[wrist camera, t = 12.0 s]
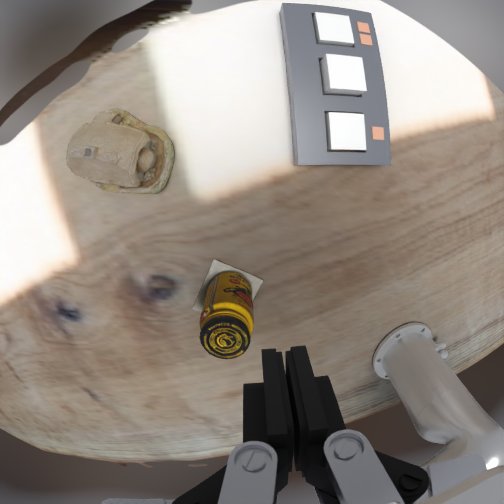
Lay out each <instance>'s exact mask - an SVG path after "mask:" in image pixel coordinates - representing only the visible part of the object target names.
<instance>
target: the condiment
mask: <svg viewBox="0 0 504 504" xmlns="http://www.w3.org/2000/svg"><path fill="white" fill-rule="evenodd" d="M263 281H264V280H262V279H259V278H257V277H255V276H252V275H250V274H248V273H245V272H243V271H241V270H238V269H236V268H234V267H231V266H229V265H227V264H224V263H222V262H219V261H217V260H215V259H214V261H213V263H212V265H211V267H210V270H209V272H208V274H207V276H206V279H205V281H204V283H203V285H202V288H201V290H200V292H199V295H198V297H197V299H196V302H195V304H194V306H193V309H192V310H195V311H198V312H201V317H200V328H201V332H200V341H201V344H202V346H203V347H204V349H205V350H206V351H207V352H208V353H209V354H211V355H213V356H215V357H218V358H222V359H232V358H236V357H238V356H240V355H241V354H243V353H244V352H245V351H246V350H247V348H248V346H249V344H250V338H251V337H250V336H251V333H252V331H253V322H254V321H253V299H254V297H255V295H256V293H257V291H258V290H259V288H260V286H261V284H262V282H263Z"/></svg>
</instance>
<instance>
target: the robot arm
mask: <svg viewBox="0 0 504 504" xmlns="http://www.w3.org/2000/svg"><path fill="white" fill-rule="evenodd" d="M444 348H446V342H445V341H444V342H440V343H438V344H436V343H435V342H434V341H433V336H432V332H431V331H430V329H429V328H428V327H427V326H426V325H424V324H423V323H419V322H413V323H408V324H405V325H403V326H401V327H399V328H397V329H395V330H394V331H393V332H391V333H390V334H389V335H388V336H387V337H385V339H384V340H383V341H382V342H381V343H380V345H379V346H378V348H377V349H376V352H375V354H374V357H373V368H374V370H375V372H376V373H377V375H378V376H380V377H381V378H384V379H390V381H391V383H392V384H393V386H394V388H395V390H396V392H397V394H398V395H399V397H400V399H401V401H402V403H403V404H404V406H405V408H406V410H407V412H408V414H409V416H410V418H411V420H412V421H413V424H414V425H415V428H416V430H417V431H418V433H419V434H420V435H421V437H423V438H424V439H426V440H428V441H431V442H436V443H442V444H446V445H445V447H444V448H443V449H442V450H441V451H439V452H438V453H437V454H436V455H434V456H433V457H432V458H430V459H429V460H428V461H426V462H424V463H423V464H421V465H420V466H416V465H413V464H410V463H407V462H404V461H402V460H399V459H396V458H393V457H391V456H388V455H385V454H383V453H380V452H378V451H375V450H373V448H372V446H371V445H370V443H369V441H368V440H367V438H366V437H365V436H364V435H363V434H361V433H360V432H358V431H354V430H346V427H345V424H344V421H343V418H342V415H341V412H340V409H339V406H338V403H337V400H336V397H335V394H334V391H333V388H332V385H331V382H330V379H329V377H328V376H320V377H314V374H313V370H312V367H311V363H310V360H309V356H308V353H307V349H306V346H296V347H291V351H286V375H285V369H284V363H283V357H282V352H276V349H262V365H263V379H264V383H249V384H244V386H243V443H242V444H240V445H238V446H236V447H235V448H234V449H233V450H232V452H231V454H230V456H229V460H228V464H227V465H226V466H224V467H223V468H222V469H220V470H219V471H218V472H216V473H215V474H213V475H212V476H210V477H209V478H208V479H206V480H205V481H203V482H202V483H200V484H199V485H197V486H196V487H194V488H193V489H191V490H189V491H188V492H186V493H185V494H183V495H181V496H180V497H178V498H177V499H176V500H164V499H115V498H112V499H107V500H105V501H103V502H102V503H101V504H277V496H278V492H279V491H281V490H282V489H283V488H284V487H285V486H286V485H287V484H288V472H292V460H293V455H294V461H295V469H296V471H301V472H302V477H305V479H306V482H308V483H310V484H311V485H313V486H314V488H315V491H316V494H317V496H318V499H319V502H320V504H504V430H503V429H502V428H501V427H500V426H499V425H498V424H497V423H496V422H495V421H494V420H493V419H492V418H491V417H490V416H489V415H488V414H487V413H486V412H485V411H484V410H483V409H482V408H481V407H480V405H479V404H478V403H477V402H476V400H475V399H474V398H473V397H472V395H471V394H470V393H469V391H468V390H467V389H466V388H465V386H464V385H463V384H462V382H461V381H460V380H459V379H458V377H457V376H456V375H455V373H454V372H453V371H452V370H451V368H450V367H449V366H448V365H447V363H446V362H445V361H444V360H443V359H446V358H447V357H448V352H447V350H446V349H444ZM441 349H443V350H441ZM438 350H440V351H438Z"/></svg>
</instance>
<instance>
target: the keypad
mask: <svg viewBox="0 0 504 504" xmlns="http://www.w3.org/2000/svg"><path fill="white" fill-rule="evenodd" d="M315 12H320V13H329V14H338V15H345V16H349V19H350V23H351V28H352V33H353V38H354V44H353V45H352V46H351V47H345V46H336V45H324V44H316V38H315V31H314V25H313V20H312V18H313V16H314V14H315ZM280 19H281V27H282V35H283V43H284V51H285V60H286V69H287V79H288V89H289V100H290V112H291V124H292V138H293V152H294V165H389V166H391V152H390V133H389V119H388V109H387V99H386V91H385V83H384V76H383V70H382V63H381V58H380V52H379V47H378V42H377V37H376V32H375V28H374V24H373V20H372V16H371V13H368V12H363V11H358V10H352V9H346V8H339V7H331V6H322V5H311V4H295V3H282V6H281V10H280ZM325 54H336V55H345V56H354V57H362V60H363V67H364V74H365V81H366V89H367V91H366V92H364V93H362V94H360V95H358V96H356V97H351V96H337V95H323V92H322V83H321V74H320V66H319V62H320V61H321V59H322V58H323V57H324V56H325ZM328 112H337V113H355V114H364V122H365V136H366V150H357V152H327V140H326V125H325V114H326V113H328Z"/></svg>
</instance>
